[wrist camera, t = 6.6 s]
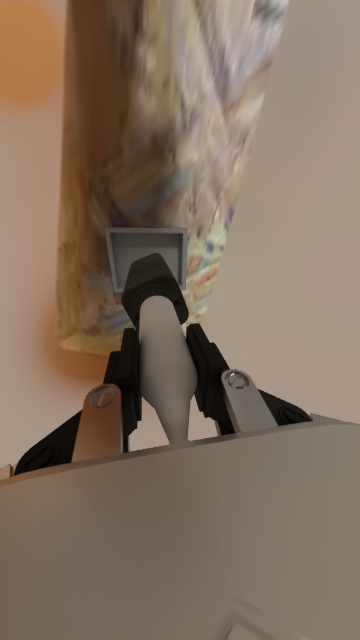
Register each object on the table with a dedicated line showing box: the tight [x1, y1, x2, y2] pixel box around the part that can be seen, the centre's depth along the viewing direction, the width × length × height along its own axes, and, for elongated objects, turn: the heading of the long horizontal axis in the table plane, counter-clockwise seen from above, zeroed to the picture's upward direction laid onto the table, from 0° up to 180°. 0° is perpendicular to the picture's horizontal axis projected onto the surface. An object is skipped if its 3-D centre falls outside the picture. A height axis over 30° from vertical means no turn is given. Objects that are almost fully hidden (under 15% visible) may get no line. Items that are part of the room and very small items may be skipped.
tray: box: [104, 227, 187, 293], centre depth 39 cm, size 12×15×4 cm
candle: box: [121, 253, 198, 445], centre depth 17 cm, size 5×5×25 cm
